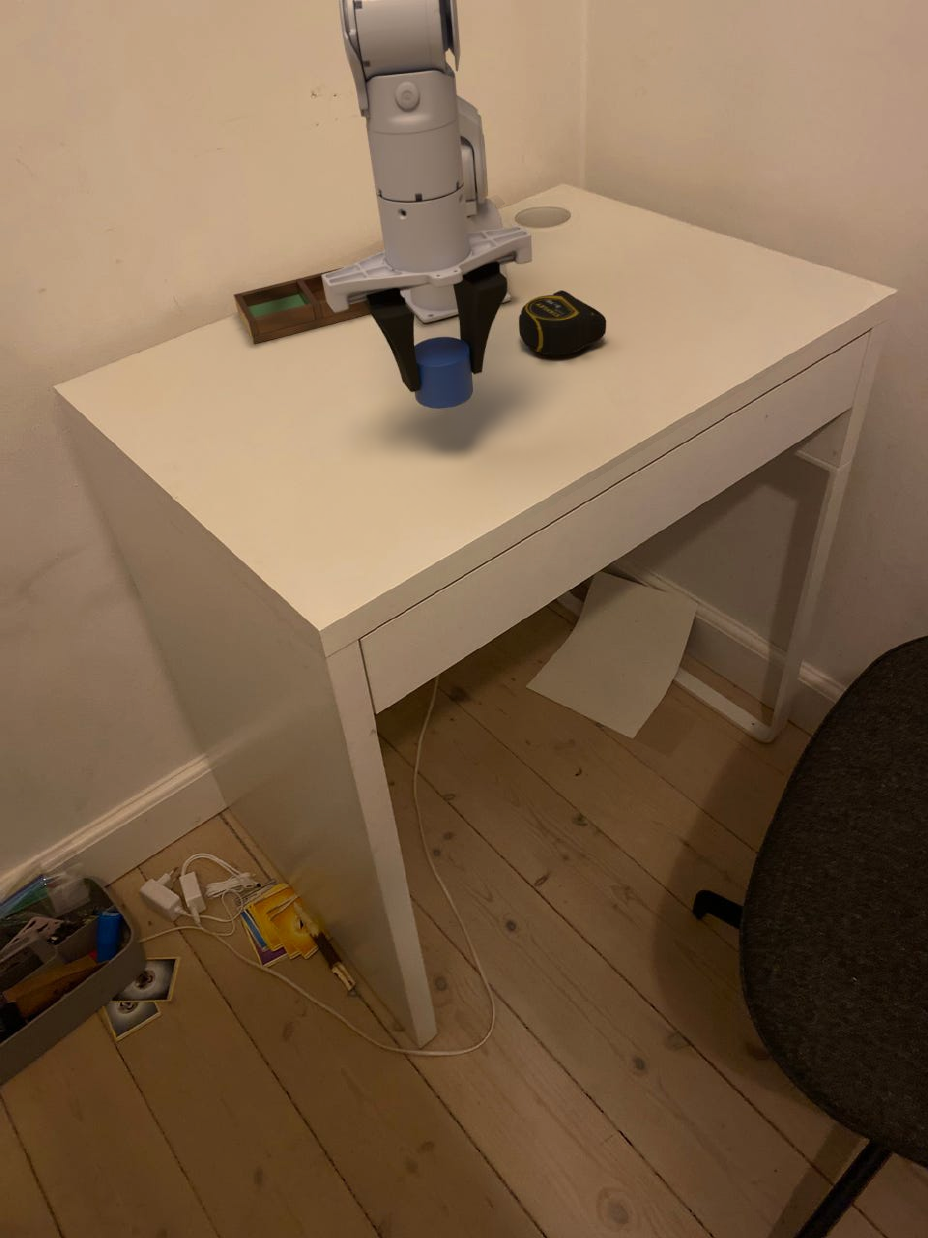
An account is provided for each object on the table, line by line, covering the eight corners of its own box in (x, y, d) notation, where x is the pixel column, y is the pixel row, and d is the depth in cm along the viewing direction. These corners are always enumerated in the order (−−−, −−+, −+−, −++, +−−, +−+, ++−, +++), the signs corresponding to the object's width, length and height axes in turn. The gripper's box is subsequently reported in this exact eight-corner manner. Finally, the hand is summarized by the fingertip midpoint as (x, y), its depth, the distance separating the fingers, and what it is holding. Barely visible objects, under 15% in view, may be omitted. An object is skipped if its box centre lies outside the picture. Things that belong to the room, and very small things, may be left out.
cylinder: (460, 373, 72) (456, 330, 69) (482, 398, 69) (478, 355, 66) (407, 388, 71) (401, 346, 69) (427, 415, 68) (421, 371, 65)
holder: (364, 283, 99) (360, 262, 97) (385, 309, 94) (382, 287, 92) (239, 315, 96) (233, 294, 94) (254, 344, 91) (248, 322, 89)
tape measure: (609, 348, 84) (610, 309, 82) (545, 371, 82) (544, 331, 80) (568, 320, 89) (568, 282, 86) (506, 341, 87) (504, 303, 84)
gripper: (329, 232, 55) (365, 429, 65) (549, 179, 58) (553, 374, 68) (299, 196, 60) (337, 384, 69) (503, 149, 63) (513, 334, 73)
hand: (441, 376), depth 69 cm, fingers closed on cylinder, 4 cm apart
